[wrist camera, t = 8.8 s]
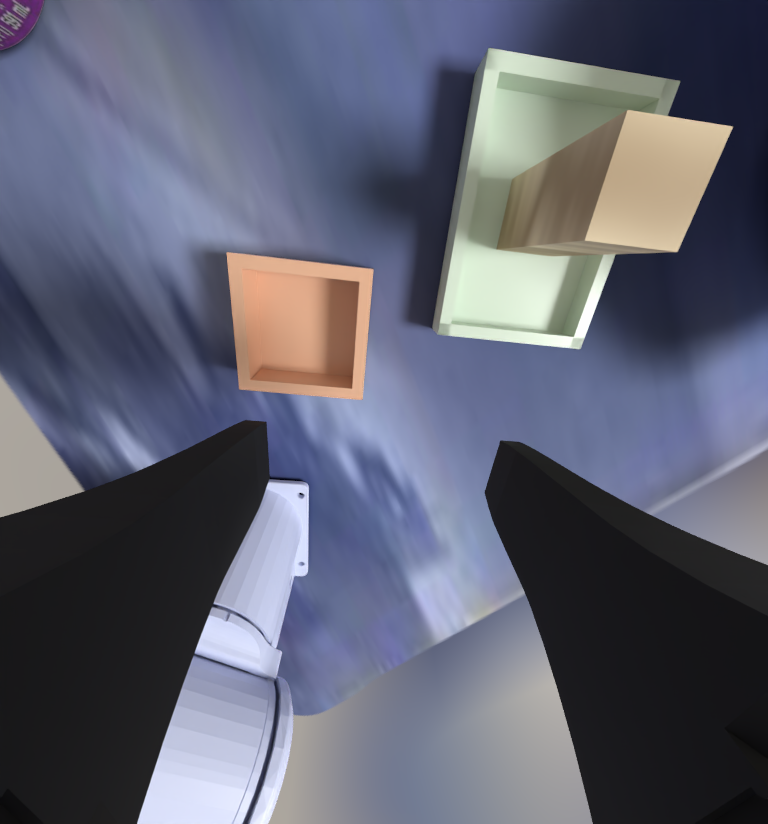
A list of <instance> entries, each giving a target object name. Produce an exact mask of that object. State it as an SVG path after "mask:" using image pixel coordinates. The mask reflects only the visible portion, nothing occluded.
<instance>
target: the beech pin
mask: <svg viewBox="0 0 768 824" xmlns="http://www.w3.org/2000/svg"><path fill="white" fill-rule="evenodd" d="M732 128H733V127H732V126H726V125H720V124H714V123H707V122H701V121H695V120H688V119H682V118H676V117H670V116H663V115H657V114H651V113H645V112H638V111H632V110H627V111H625V112H623V113H622V114H620V115H618V116H617V117H615V118H613V119H611V120H610V121H608V122H606V123H605V124H603V125H601V126H600V127H598V128H596V129H595V130H593V131H591V132H590V133H588V134H586V135H585V136H583V137H581V138H580V139H578V140H576V141H575V142H573V143H571V144H570V145H568V146H566V147H565V148H563V149H561V150H560V151H558V152H556V153H555V154H553V155H551V156H550V157H548V158H546V159H545V160H543V161H541V162H540V163H538V164H536V165H535V166H533V167H531V168H530V169H528V170H526V171H525V172H523V173H521V174H520V175H518V176H516V177H515V178H513V179H512V182H511V187H510V191H509V196H508V200H507V205H506V209H505V213H504V218H503V222H502V227H501V231H500V235H499V240H498V244H497V249H496V250H503V251H511V252H519V253H528V254H536V255H544V256H579V255H608V254H637V253H666V252H678V250H679V247H680V245H681V243H682V241H683V238H684V236H685V234H686V232H687V229H688V227H689V225H690V223H691V221H692V218H693V216H694V214H695V212H696V209H697V207H698V205H699V203H700V200H701V198H702V196H703V194H704V191H705V189H706V187H707V185H708V182H709V180H710V178H711V176H712V173H713V171H714V169H715V167H716V164H717V162H718V160H719V158H720V155H721V153H722V151H723V149H724V146H725V144H726V142H727V140H728V137H729V135H730V133H731V131H732Z"/></svg>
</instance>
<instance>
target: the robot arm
mask: <svg viewBox="0 0 768 824" xmlns="http://www.w3.org/2000/svg"><path fill="white" fill-rule="evenodd" d="M269 478H270V475H269V458H268V441H267V424H266V422H261V421H249V420H245V421H242V422H240V423H237V424H235V425H233V426H231V427H229V428H227V429H225V430H223V431H221V432H219V433H217V434H215V435H213V436H211V437H209V438H207V439H206V440H204V441H202V442H200V443H198V444H196V445H194V446H192V447H190V448H188V449H186V450H184V451H181V452H179V453H177V454H175V455H173V456H171V457H168V458H166V459H164V460H162V461H160V462H158V463H155V464H153V465H151V466H149V467H147V468H144V469H142V470H140V471H137V472H135V473H132V474H130V475H127V476H125V477H122V478H120V479H117V480H114V481H112V482H109V483H106V484H104V485H101V486H98V487H96V488H93V489H90V490H87V491H84V492H81V493H78V494H75V495H72V496H69V497H66V498H62V499H59V500H57V501H53V502H50V503H47V504H44V505H41V506H38V507H35V508H32V509H28V510H25V511H22V512H19V513H15V514H11V515H8V516H4V517H0V824H268V823H269V820H270V818H271V815H272V813H273V810H274V807H275V805H276V802H277V798H278V796H279V792H280V789H281V786H282V783H283V779H284V775H285V771H286V767H287V763H288V758H289V753H290V747H291V741H292V732H293V707H292V702H291V694H290V688H289V685H288V683H287V681H286V680H285V679H284V678H282V677H279V676H277V672H278V668H279V663H280V659H281V655H282V652H281V651H280V650H278V649H276V647H277V643H278V639H279V635H280V631H281V627H282V623H283V619H284V615H285V611H286V607H287V603H288V599H289V595H290V591H291V587H292V583H293V579H294V576H305V575H306V574H307V572H308V531H309V486H308V484H307V483H305V482H302V481H287V480H272V479H269ZM299 493H303V494H304V495H300V494H299ZM485 495H486V499H487V503H488V507H489V510H490V513H491V516H492V520H493V522H494V525H495V527H496V529H497V532H498V534H499V536H500V538H501V541H502V543H503V545H504V547H505V550H506V552H507V554H508V556H509V558H510V561H511V563H512V565H513V567H514V569H515V572H516V574H517V576H518V578H519V580H520V583H521V585H522V587H523V589H524V591H525V594H526V596H527V599H528V601H529V604H530V606H531V609H532V611H533V615H534V618H535V621H536V624H537V627H538V629H539V632H540V635H541V638H542V641H543V644H544V647H545V650H546V654H547V657H548V660H549V663H550V666H551V670H552V673H553V676H554V679H555V682H556V685H557V689H558V692H559V696H560V699H561V702H562V706H563V710H564V713H565V717H566V720H567V724H568V727H569V731H570V734H571V738H572V742H573V745H574V749H575V753H576V757H577V761H578V765H579V769H580V773H581V777H582V781H583V785H584V789H585V793H586V796H587V801H588V805H589V809H590V813H591V817H592V822H593V824H768V565H766V564H763V563H760V562H758V561H755V560H753V559H750V558H748V557H745V556H742V555H740V554H737V553H735V552H733V551H730V550H727V549H725V548H723V547H720V546H718V545H716V544H713V543H711V542H709V541H706V540H704V539H701V538H699V537H697V536H694V535H692V534H690V533H688V532H685V531H683V530H681V529H679V528H677V527H674V526H672V525H670V524H668V523H666V522H664V521H662V520H659V519H658V518H656V517H654V516H651V515H649V514H647V513H645V512H643V511H641V510H639V509H637V508H635V507H633V506H631V505H629V504H628V503H626V502H624V501H622V500H620V499H618V498H617V497H615V496H613V495H611V494H609V493H607V492H606V491H604V490H602V489H600V488H598V487H597V486H595V485H593V484H592V483H590V482H588V481H586V480H585V479H583V478H581V477H580V476H578V475H576V474H575V473H573V472H571V471H570V470H568V469H566V468H565V467H563V466H561V465H560V464H558V463H556V462H555V461H553V460H551V459H550V458H548V457H547V456H545V455H543V454H541V453H540V452H538V451H536V450H534V449H533V448H531V447H529V446H527V445H525V444H523V443H520V442H513V441H500V444H499V447H498V450H497V454H496V457H495V460H494V463H493V467H492V470H491V473H490V477H489V480H488V483H487V486H486V490H485Z"/></svg>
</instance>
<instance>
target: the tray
mask: <svg viewBox="0 0 768 824" xmlns="http://www.w3.org/2000/svg"><path fill="white" fill-rule="evenodd" d="M679 84H680V81H677V80H672V79H666V78H660V77H654V76H649V75H643V74H637V73H631V72H625V71H620V70H614V69H608V68H602V67H597V66H591V65H585V64H579V63H574V62H568V61H562V60H556V59H551V58H545V57H539V56H533V55H527V54H522V53H516V52H510V51H504V50H499V49H493V48H488V50H487V52H486V54H485V56H484V57H483V59H482V61H481V63H480V65H479V67H478V69H477V70H476V72H475V76H474V82H473V88H472V94H471V100H470V106H469V112H468V118H467V124H466V130H465V136H464V142H463V147H462V153H461V159H460V165H459V171H458V177H457V183H456V189H455V195H454V201H453V207H452V213H451V219H450V225H449V231H448V237H447V242H446V248H445V254H444V260H443V266H442V272H441V278H440V284H439V290H438V296H437V302H436V308H435V314H434V320H433V326H432V329H433V330H434V331H435V332H436V333H437V334H438V335H447V336H457V337H467V338H477V339H486V340H496V341H506V342H516V343H525V344H535V345H545V346H555V347H564V348H574V349H580V348H581V346H582V343H583V340H584V338H585V335H586V332H587V330H588V327H589V324H590V322H591V319H592V316H593V314H594V311H595V308H596V306H597V303H598V300H599V298H600V295H601V292H602V290H603V287H604V284H605V282H606V279H607V276H608V274H609V271H610V268H611V266H612V263H613V260H614V258H615V255H616V254H608V255H579V256H544V255H536V254H528V253H519V252H511V251H503V250H496V249H497V244H498V240H499V235H500V231H501V227H502V222H503V218H504V213H505V209H506V205H507V200H508V196H509V191H510V187H511V182H512V179H513V178H515V177H516V176H518V175H520V174H521V173H523V172H525V171H526V170H528V169H530V168H531V167H533V166H535V165H536V164H538V163H540V162H541V161H543V160H545V159H546V158H548V157H550V156H551V155H553V154H555V153H556V152H558V151H560V150H561V149H563V148H565V147H566V146H568V145H570V144H571V143H573V142H575V141H576V140H578V139H580V138H581V137H583V136H585V135H586V134H588V133H590V132H591V131H593V130H595V129H596V128H598V127H600V126H601V125H603V124H605V123H606V122H608V121H610V120H611V119H613V118H615V117H617V116H618V115H620V114H622V113H623V112H625V111H627V110H632V111H638V112H645V113H651V114H657V115H663V116H668V113H669V111H670V108H671V105H672V103H673V100H674V97H675V95H676V92H677V89H678V87H679Z"/></svg>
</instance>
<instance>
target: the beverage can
mask: <svg viewBox="0 0 768 824" xmlns="http://www.w3.org/2000/svg"><path fill="white" fill-rule="evenodd" d="M43 5H44V0H0V50H4V49H7V48H10V47H12V46H14V45H16V44H17V43H19V42H21V41H22V40H23V39H24V38H25V37H26V36H27V35H28V34H29V33H30V32H31V31H32V29H33V28H34V26H35V24H36V23H37V21H38V19H39V16H40V14H41V11H42V8H43Z"/></svg>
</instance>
